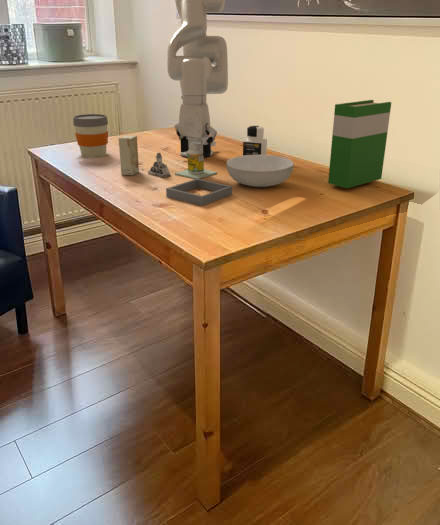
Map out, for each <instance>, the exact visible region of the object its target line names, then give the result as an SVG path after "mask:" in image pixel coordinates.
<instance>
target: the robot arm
mask: <svg viewBox="0 0 440 525" xmlns="http://www.w3.org/2000/svg"><path fill="white" fill-rule="evenodd" d="M174 2H175V5H176V6H175V7H176V10H177V12H178V15H179V18H180V28H179V29H178V30H177V31H176V32H175V33H174V34H173V35H172V38H170V41H169V43H168V47H167V63H166V64H167V65H166V66H167V74H168V76H169V78H170V79H171V80H172V81H175V82H176V81H177V82H179V84H180V92H181V97H180V99H181V100H182V103H181V104H180V108H179V113H178V114H179V117H178V118H179V119H178V122H177V124H174V129H175V132H176V135H177V136H178V140H179V141H180V151H179V154H180V155H181V156H182V157H186V158H187V151H188V150H189V149H190V148H189V143H201V148H200V149H202V150H203V157H204V158H207V157H211V156H213V154H214V151H213V150H212V147H215V146H216V145H217V142H216V141H215V139H216V136H217V134H218V131H217V130H216V129H215V128H213V127H212V126H211V119H210V111H209V109H210V108H209V105H208V103H207V95H222V94H224V93H226V92H227V90H228V86H229V70H228V69H229V68H228V66H229V64H228V63H229V62H228V45H227V41H226V40H225V38H224V37H223V36H220V35H207V29H208V25H207V24H208V23H207V21H208V20H207V19H208V18H207V16H208V15H207V14H208V13H221V12H223V10H224V9H225V3H226V0H174ZM181 48H182V53H183V54H182V55H177V53H178V51H179V50H180V49H181Z"/></svg>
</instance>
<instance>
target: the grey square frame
mask: <svg viewBox="0 0 440 525" xmlns="http://www.w3.org/2000/svg"><path fill="white" fill-rule="evenodd" d="M197 188H198V189H201V190H206V191H209V192H208V193H206V194H203V195H200V194H197V193H196V194H195V193H191V192H189V191H190V190H193V189H194V190H195V189H197ZM165 190H166V192H165V193H166V198H170V199H175V200H177V201H181V202H186V203H189V204H193V205H196V206H200V207H201V206H202V207H203V206H206V205H208V204H211V203H214V202H217V201H219V200H222V199H224V198H226V197H230V196H231V195H233V186H232V185H227V184H224V183H218V182H214V181H210V180H206V179H205V180H204V179H202V178H201V179H191V180H188V181H185V182H181V183H179V184H176V185H172V186H168V187H166V188H165Z"/></svg>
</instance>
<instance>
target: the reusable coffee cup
mask: <svg viewBox="0 0 440 525" xmlns="http://www.w3.org/2000/svg"><path fill="white" fill-rule="evenodd" d="M107 116H108V115H105V114H101V113H100V114H99V113H86V114H78V115H74V116H73V117H72V118H73V122H72V123H73V124H72V125H73V126H74V129H75V132H74V135H75V138H76V142H77V146H78V147H79V151H80V154H81V157H84V158H92V159H93V158H101V157H105V156H106V155H107V144H108V142H109V140H108V139H109V131H108V124H109V122H108V117H107Z"/></svg>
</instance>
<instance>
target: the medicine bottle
mask: <svg viewBox="0 0 440 525" xmlns="http://www.w3.org/2000/svg"><path fill="white" fill-rule="evenodd" d="M246 130H247V131H246V137H247V138H246V139H245V140H243V141H242V156H244V155H268V154H267V152H268V149H267V146H268V139H267V138H264V137H265V136H264V135H265V134H264V131H265V128H264V127H263V126H261V125H250V126H248V127H247V129H246Z"/></svg>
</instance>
